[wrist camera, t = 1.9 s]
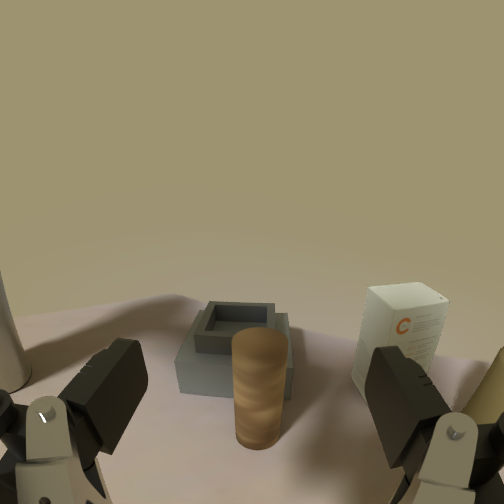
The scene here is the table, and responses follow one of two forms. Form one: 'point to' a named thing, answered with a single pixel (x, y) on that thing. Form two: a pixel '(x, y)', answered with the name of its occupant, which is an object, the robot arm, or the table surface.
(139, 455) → the table surface
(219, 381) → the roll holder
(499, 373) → the squeeze bottle
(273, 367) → the cardboard roll
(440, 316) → the small box
